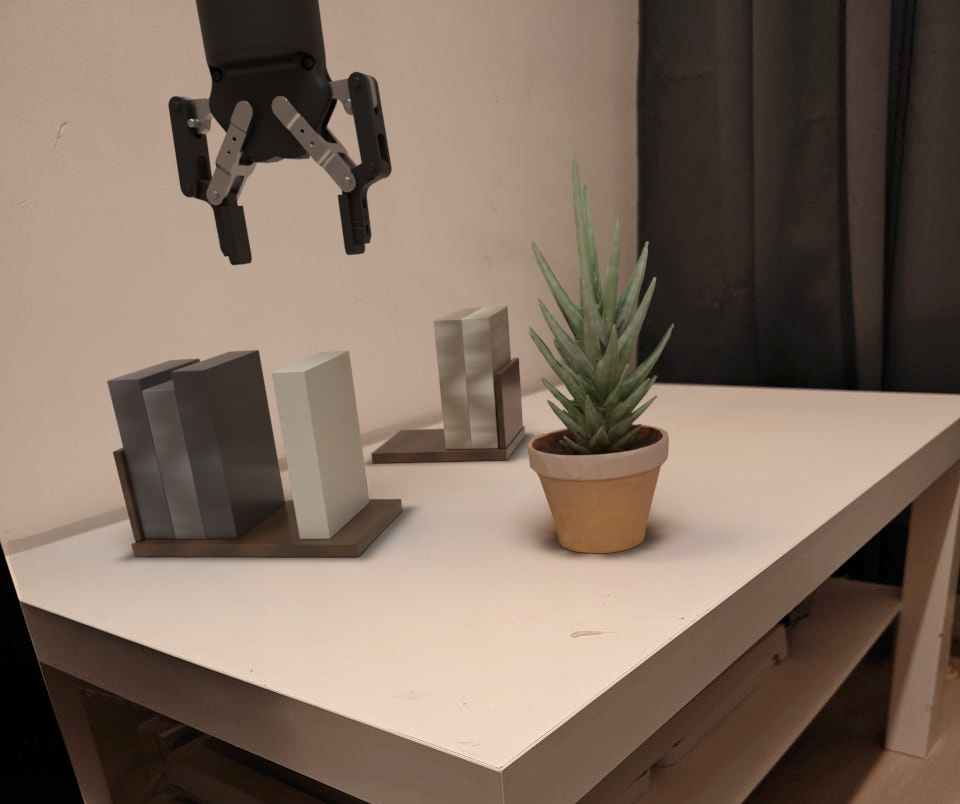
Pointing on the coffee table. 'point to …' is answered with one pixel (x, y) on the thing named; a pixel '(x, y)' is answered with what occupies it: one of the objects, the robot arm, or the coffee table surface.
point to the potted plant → (598, 402)
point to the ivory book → (322, 442)
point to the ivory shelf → (468, 394)
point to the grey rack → (214, 466)
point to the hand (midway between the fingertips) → (297, 259)
